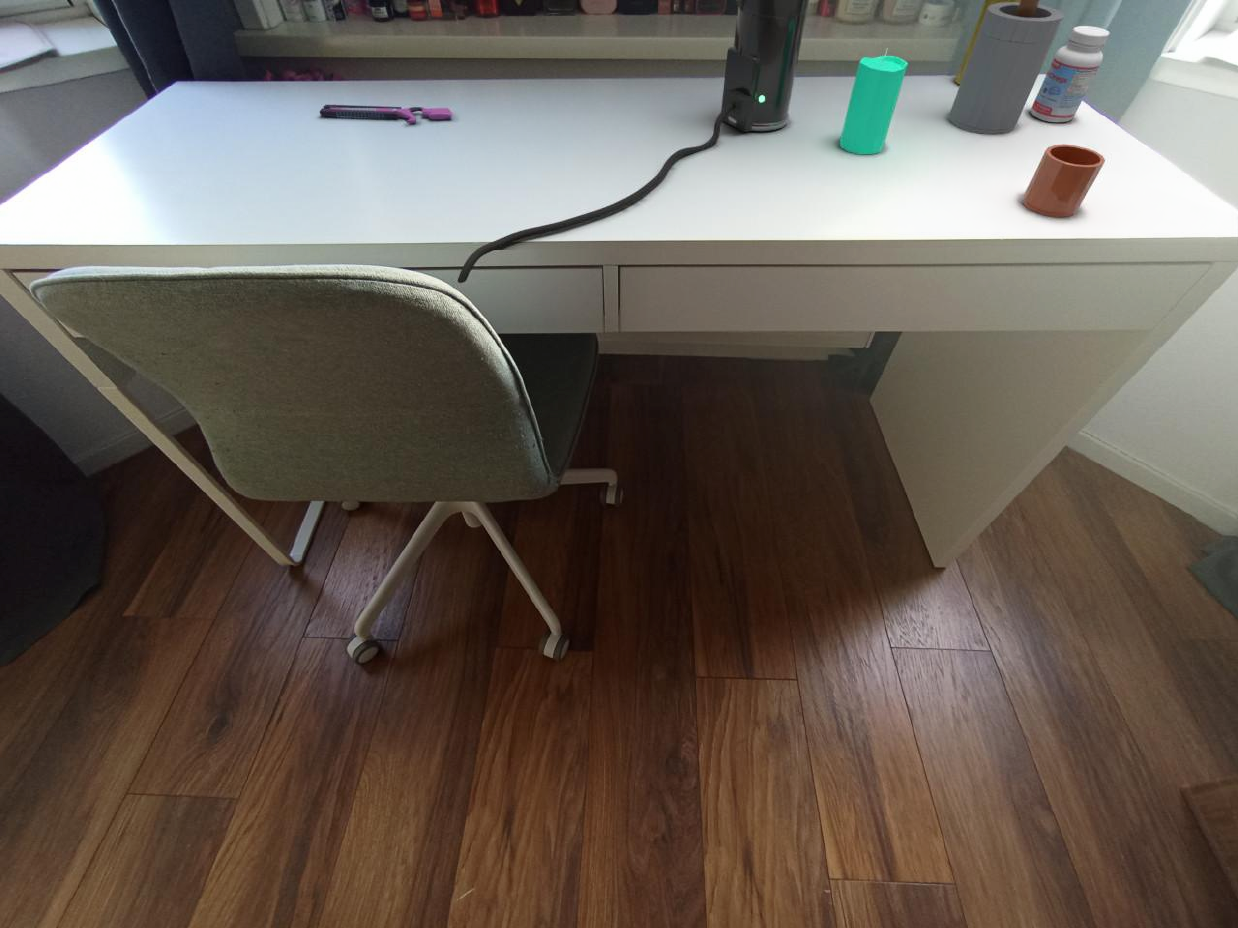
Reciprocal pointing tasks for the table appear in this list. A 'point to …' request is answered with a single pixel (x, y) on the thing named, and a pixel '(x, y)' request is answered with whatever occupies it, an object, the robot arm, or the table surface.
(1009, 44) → the gray cylindrical container
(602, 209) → the robot arm
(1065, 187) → the holder
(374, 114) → the pink toy gun
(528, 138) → the table surface
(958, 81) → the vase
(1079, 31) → the pill bottle
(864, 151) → the candle
